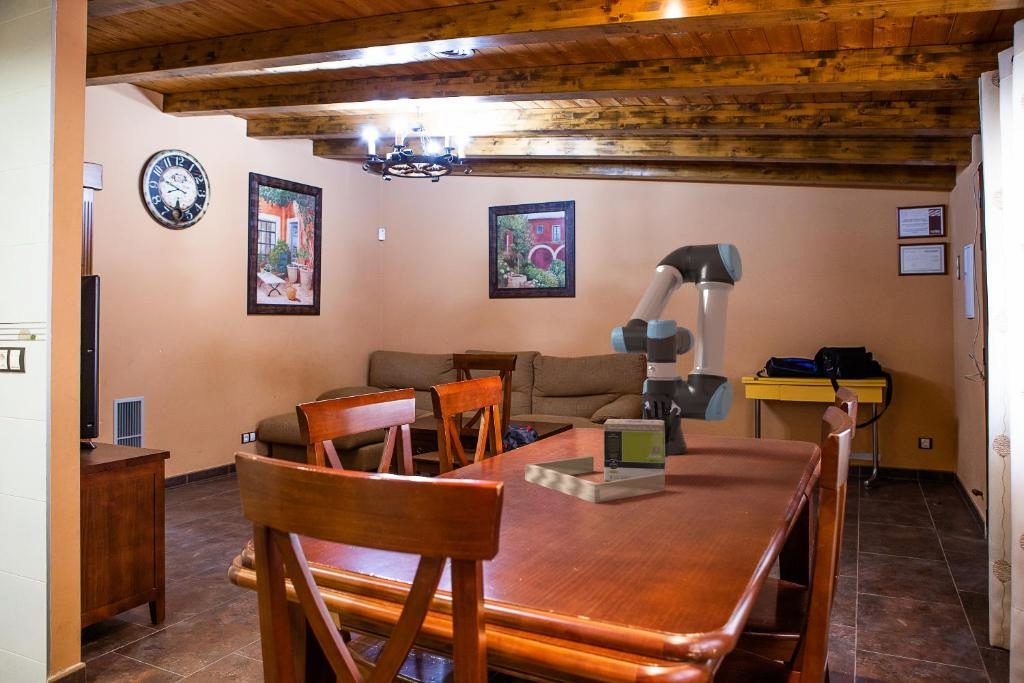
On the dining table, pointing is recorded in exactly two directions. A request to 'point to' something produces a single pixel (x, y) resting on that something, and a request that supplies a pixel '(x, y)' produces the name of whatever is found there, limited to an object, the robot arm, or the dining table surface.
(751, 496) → the dining table surface
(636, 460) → the tea box
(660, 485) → the corral
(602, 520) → the dining table surface
